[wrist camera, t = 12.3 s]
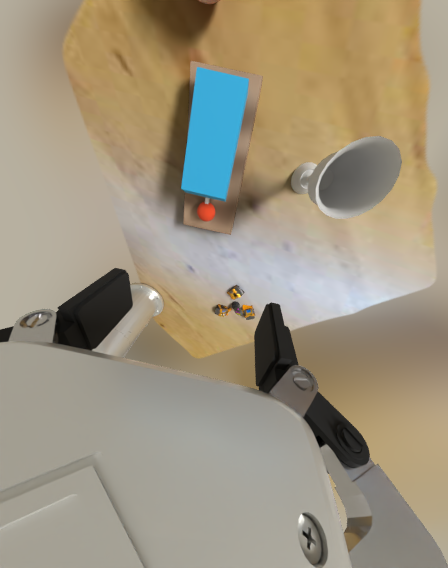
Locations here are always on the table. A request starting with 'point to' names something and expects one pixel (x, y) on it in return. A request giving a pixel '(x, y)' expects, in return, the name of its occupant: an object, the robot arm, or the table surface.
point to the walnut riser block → (228, 209)
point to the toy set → (236, 305)
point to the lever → (213, 136)
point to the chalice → (351, 177)
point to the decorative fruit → (209, 1)
